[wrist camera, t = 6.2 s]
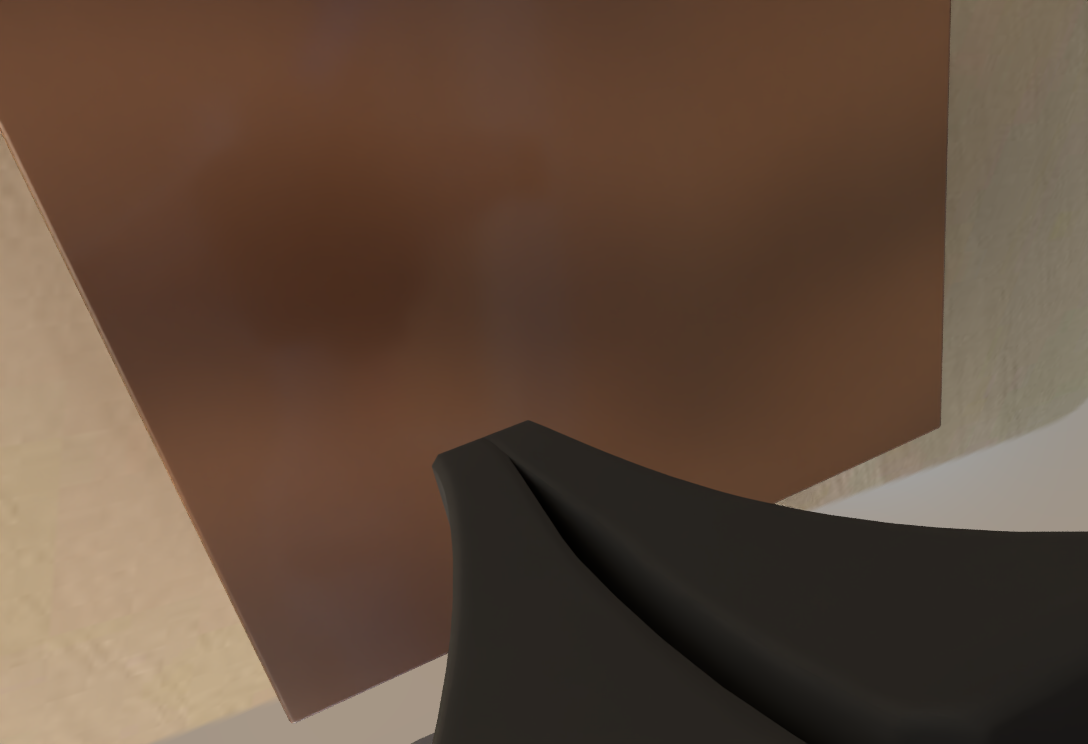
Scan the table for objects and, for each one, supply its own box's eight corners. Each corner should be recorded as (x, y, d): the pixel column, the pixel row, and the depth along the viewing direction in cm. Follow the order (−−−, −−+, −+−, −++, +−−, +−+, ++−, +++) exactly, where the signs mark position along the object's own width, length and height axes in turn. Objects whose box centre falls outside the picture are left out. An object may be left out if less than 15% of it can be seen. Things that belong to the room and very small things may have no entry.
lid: (-72, -43, 10) (-89, -47, 10) (921, -236, 14) (959, -248, 14) (286, 697, 16) (291, 727, 16) (916, 414, 21) (941, 428, 20)
